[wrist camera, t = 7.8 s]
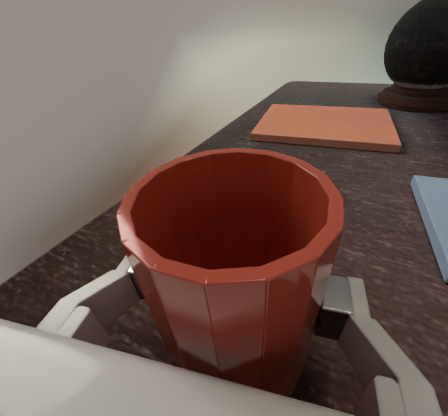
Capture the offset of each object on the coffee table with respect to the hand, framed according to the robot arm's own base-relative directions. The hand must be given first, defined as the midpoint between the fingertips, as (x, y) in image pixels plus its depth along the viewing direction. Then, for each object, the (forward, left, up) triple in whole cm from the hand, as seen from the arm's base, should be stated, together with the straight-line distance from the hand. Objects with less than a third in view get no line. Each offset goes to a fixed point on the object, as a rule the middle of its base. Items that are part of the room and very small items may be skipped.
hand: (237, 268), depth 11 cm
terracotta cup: (0, -1, -6) cm, 6 cm away
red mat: (+2, +33, -6) cm, 34 cm away
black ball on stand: (+16, +48, -6) cm, 51 cm away
